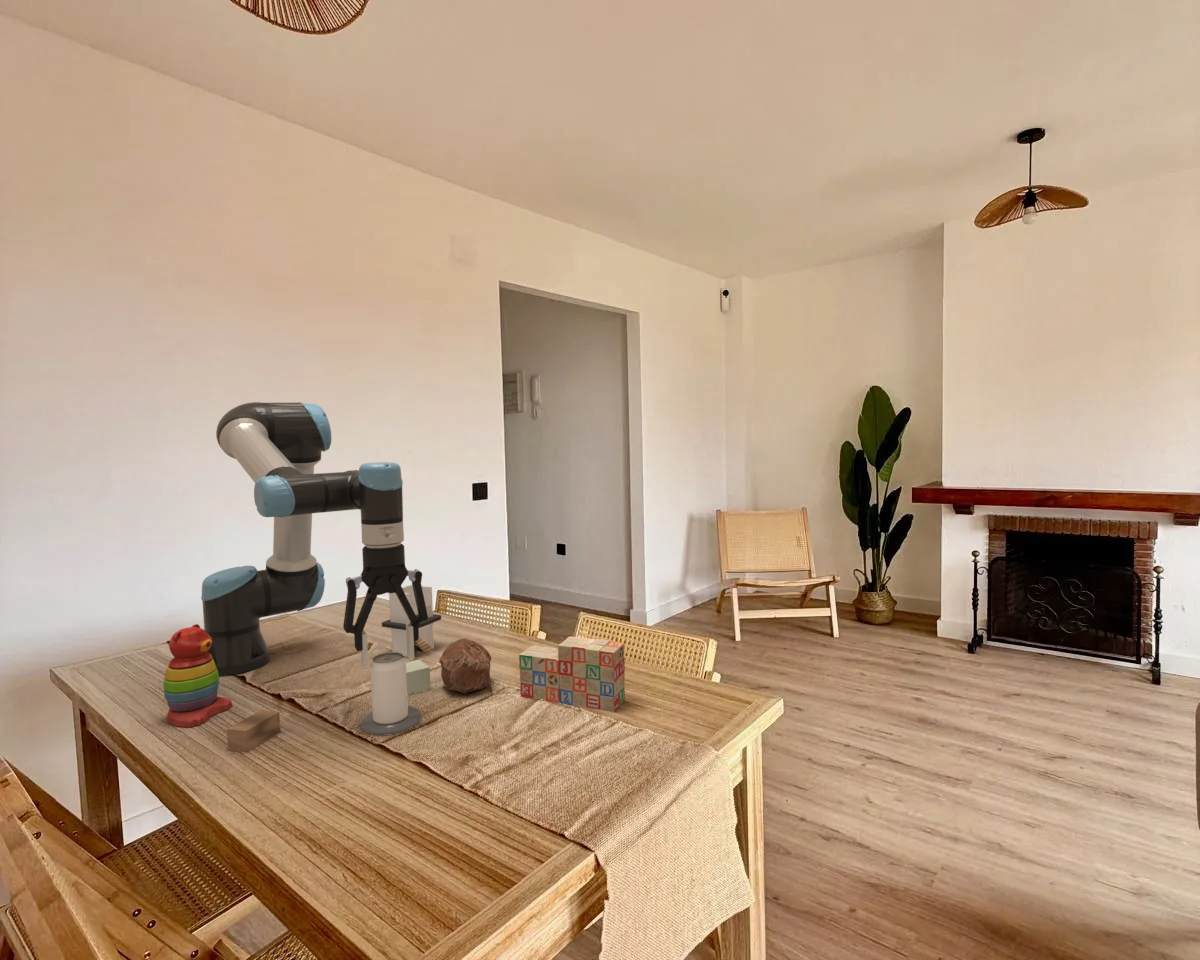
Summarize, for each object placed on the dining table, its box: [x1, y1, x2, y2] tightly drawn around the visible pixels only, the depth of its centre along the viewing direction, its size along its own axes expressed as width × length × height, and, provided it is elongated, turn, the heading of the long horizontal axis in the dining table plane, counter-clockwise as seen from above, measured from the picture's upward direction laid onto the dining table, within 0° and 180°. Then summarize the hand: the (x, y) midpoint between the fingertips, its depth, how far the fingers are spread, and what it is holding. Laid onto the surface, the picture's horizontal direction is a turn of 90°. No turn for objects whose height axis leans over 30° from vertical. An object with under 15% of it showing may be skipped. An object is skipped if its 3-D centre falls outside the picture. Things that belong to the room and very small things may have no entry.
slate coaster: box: [360, 705, 422, 736], centre depth 123 cm, size 11×11×1 cm
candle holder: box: [381, 584, 442, 657], centre depth 162 cm, size 25×24×16 cm
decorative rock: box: [439, 637, 492, 694], centre depth 139 cm, size 13×11×10 cm
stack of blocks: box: [518, 636, 626, 713], centre depth 132 cm, size 21×6×12 cm, turn 68°
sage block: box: [405, 659, 431, 695], centre depth 139 cm, size 6×6×5 cm
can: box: [370, 651, 409, 725], centre depth 122 cm, size 6×6×12 cm
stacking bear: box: [163, 623, 233, 728], centre depth 127 cm, size 11×10×18 cm
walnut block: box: [226, 709, 281, 753], centre depth 116 cm, size 8×4×4 cm, turn 165°
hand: (388, 661), depth 122 cm, fingers open, 8 cm apart
